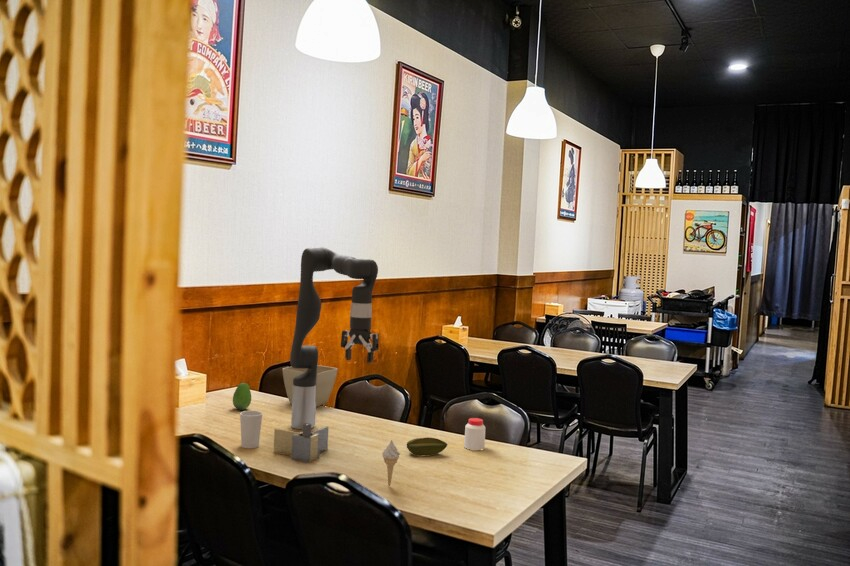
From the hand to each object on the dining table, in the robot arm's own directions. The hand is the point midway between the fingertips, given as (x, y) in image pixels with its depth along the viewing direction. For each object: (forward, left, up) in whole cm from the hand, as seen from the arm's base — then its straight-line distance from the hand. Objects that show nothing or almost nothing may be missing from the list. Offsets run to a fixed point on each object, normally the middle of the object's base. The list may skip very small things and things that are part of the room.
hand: (358, 361), depth 248 cm
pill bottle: (-35, +32, -34) cm, 59 cm away
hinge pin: (+12, -13, -34) cm, 38 cm away
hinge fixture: (+7, -18, -34) cm, 39 cm away
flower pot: (-57, -59, -34) cm, 89 cm away
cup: (+11, -38, -34) cm, 52 cm away
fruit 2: (-17, +20, -34) cm, 43 cm away
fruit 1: (-30, -76, -34) cm, 89 cm away
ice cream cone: (+21, +25, -34) cm, 47 cm away
